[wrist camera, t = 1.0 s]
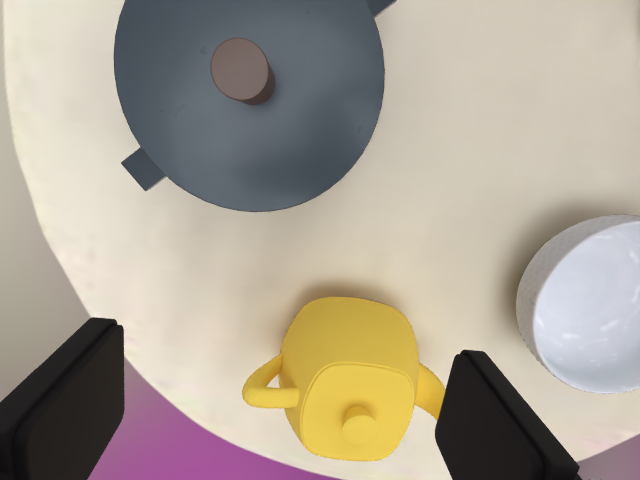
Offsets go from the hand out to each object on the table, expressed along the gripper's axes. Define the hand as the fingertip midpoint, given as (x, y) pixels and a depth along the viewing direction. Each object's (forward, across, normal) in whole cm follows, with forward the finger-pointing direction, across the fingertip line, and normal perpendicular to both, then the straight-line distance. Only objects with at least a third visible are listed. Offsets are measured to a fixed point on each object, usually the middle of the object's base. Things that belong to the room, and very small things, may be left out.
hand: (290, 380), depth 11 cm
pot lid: (+17, +4, -9) cm, 20 cm away
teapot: (+26, -8, +14) cm, 31 cm away
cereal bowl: (+26, -30, +5) cm, 40 cm away
